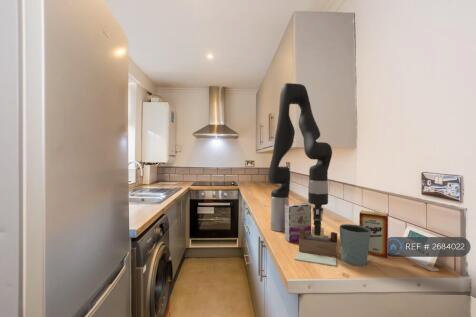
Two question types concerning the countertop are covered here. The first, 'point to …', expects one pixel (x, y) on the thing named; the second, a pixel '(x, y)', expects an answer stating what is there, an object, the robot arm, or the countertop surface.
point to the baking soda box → (376, 231)
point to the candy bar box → (297, 220)
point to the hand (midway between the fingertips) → (317, 232)
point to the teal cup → (354, 244)
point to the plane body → (318, 244)
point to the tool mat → (316, 259)
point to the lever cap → (318, 238)
